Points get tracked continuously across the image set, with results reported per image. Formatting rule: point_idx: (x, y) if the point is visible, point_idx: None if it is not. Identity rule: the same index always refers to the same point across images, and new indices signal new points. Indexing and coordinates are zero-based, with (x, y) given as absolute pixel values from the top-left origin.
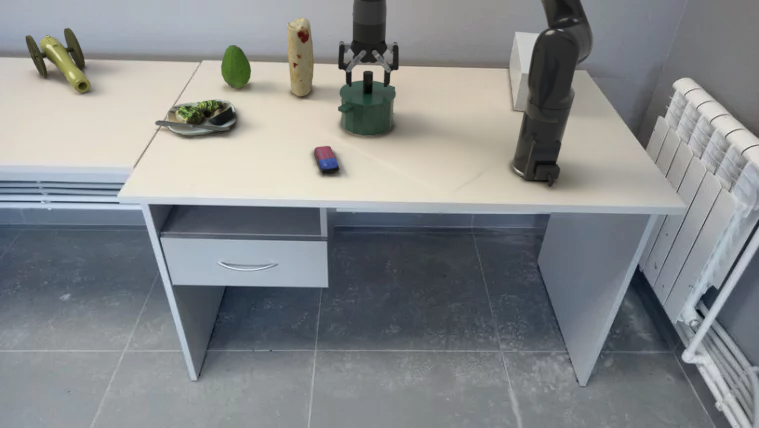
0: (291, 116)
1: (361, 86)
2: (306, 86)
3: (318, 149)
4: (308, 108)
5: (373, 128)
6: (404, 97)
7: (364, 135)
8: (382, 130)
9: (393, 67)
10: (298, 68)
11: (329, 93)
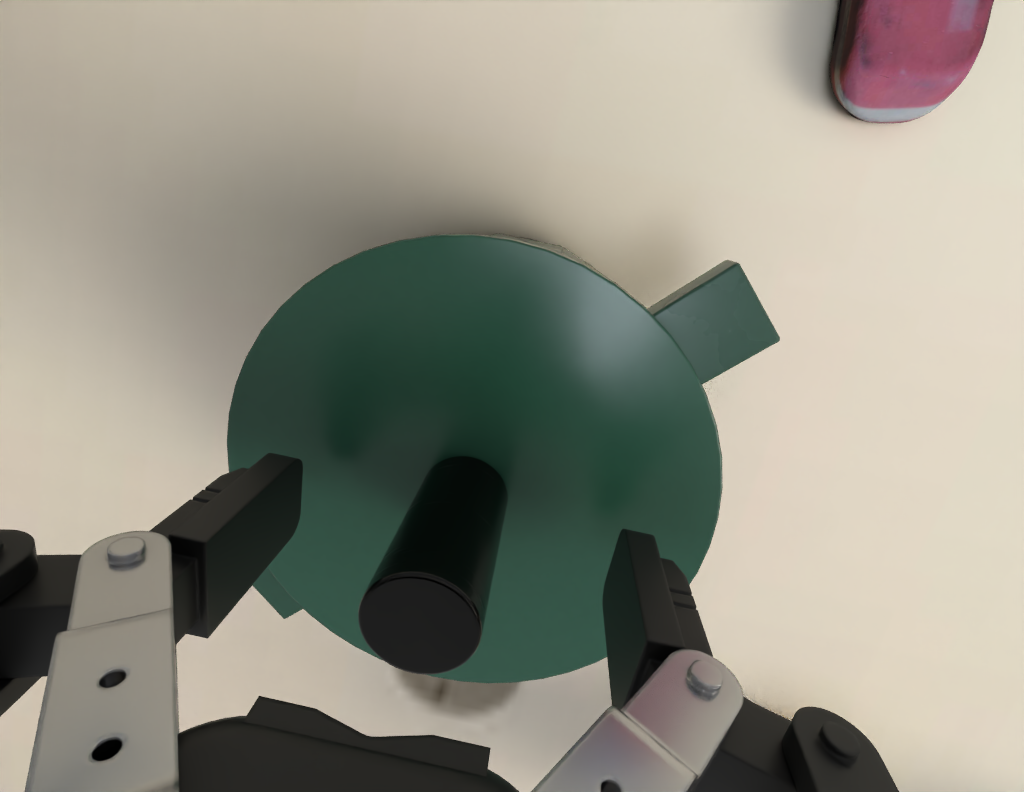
0: (894, 565)
1: (495, 592)
2: None
3: (964, 25)
4: (769, 622)
5: (491, 235)
6: (249, 618)
7: (551, 244)
8: None
9: (28, 583)
10: None
11: None
